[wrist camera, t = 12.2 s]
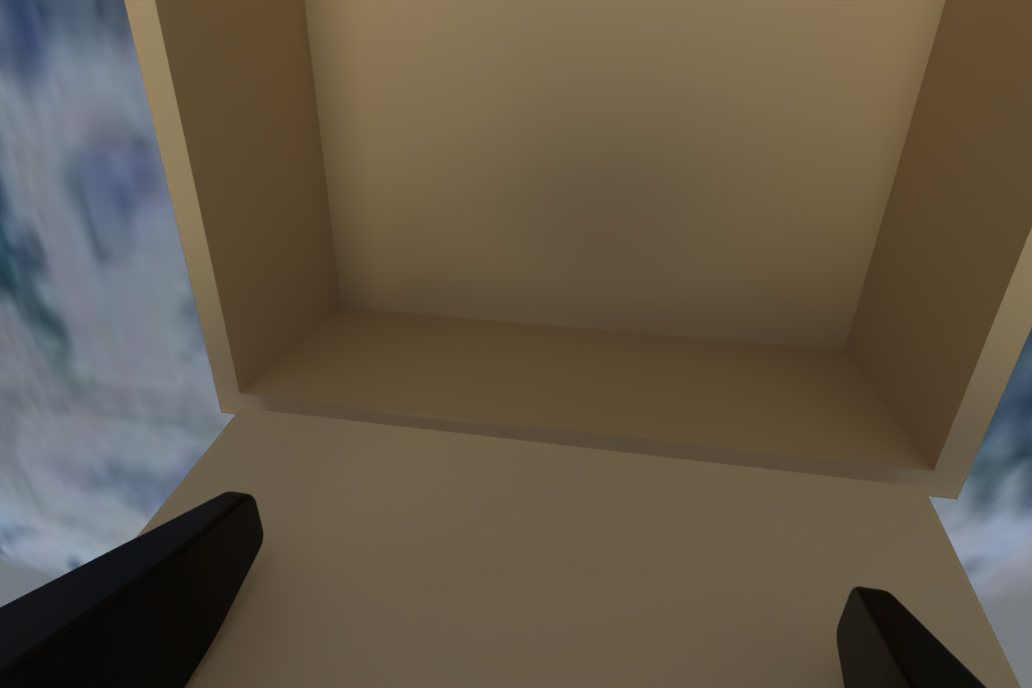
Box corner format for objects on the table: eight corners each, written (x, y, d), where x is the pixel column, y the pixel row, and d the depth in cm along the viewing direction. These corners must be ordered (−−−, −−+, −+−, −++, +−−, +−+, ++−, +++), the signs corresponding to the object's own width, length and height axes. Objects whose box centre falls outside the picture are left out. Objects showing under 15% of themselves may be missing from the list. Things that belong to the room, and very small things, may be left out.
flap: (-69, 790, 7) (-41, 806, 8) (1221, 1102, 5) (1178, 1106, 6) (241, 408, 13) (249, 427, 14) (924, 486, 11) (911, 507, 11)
